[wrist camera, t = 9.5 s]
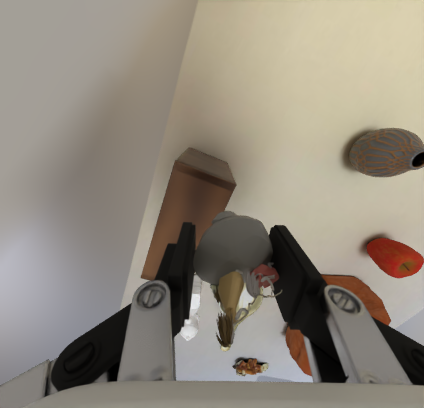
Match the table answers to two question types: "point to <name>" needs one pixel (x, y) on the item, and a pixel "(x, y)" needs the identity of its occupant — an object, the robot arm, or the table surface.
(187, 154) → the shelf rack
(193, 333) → the container set
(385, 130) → the vase
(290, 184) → the table surface
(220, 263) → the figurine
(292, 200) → the table surface
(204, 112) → the table surface
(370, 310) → the bread
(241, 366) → the pastry
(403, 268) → the apple
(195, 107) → the table surface
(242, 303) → the spoon
